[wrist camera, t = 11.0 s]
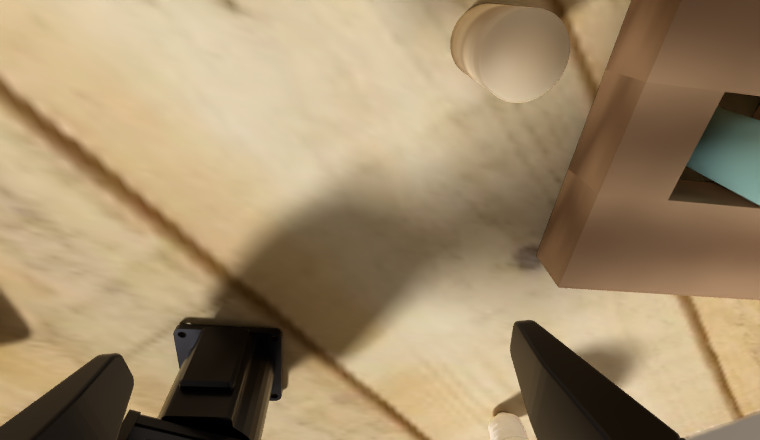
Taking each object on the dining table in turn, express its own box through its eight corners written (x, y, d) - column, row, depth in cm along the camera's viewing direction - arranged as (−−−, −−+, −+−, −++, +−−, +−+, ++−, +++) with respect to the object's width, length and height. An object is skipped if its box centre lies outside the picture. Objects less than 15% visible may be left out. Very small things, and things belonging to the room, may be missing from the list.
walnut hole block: (718, 268, 25) (760, 300, 22) (536, 255, 24) (558, 287, 21) (915, -32, 17) (1014, -36, 15) (660, -75, 16) (718, -88, 13)
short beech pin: (507, 80, 19) (552, 107, 14) (444, 73, 18) (471, 97, 14) (526, 8, 17) (583, 14, 13) (458, -2, 17) (493, 1, 13)
